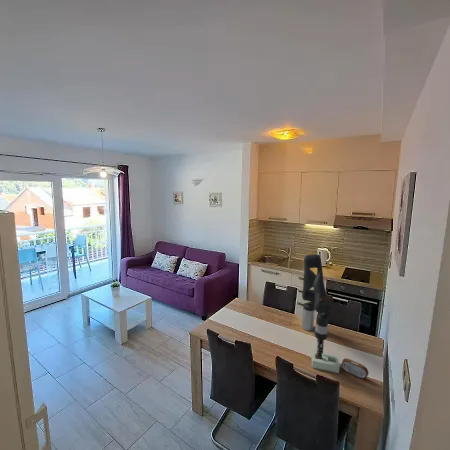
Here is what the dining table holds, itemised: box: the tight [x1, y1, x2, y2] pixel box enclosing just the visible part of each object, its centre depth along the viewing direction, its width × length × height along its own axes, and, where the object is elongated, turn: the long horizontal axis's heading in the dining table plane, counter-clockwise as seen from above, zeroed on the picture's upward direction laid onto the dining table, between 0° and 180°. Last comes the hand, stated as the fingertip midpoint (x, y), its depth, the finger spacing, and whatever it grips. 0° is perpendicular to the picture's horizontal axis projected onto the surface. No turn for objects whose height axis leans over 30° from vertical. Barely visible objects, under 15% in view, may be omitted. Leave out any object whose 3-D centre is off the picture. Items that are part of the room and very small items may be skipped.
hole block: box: [311, 350, 340, 374], centre depth 165 cm, size 10×16×5 cm, turn 73°
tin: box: [341, 357, 369, 380], centre depth 157 cm, size 15×3×8 cm, turn 50°
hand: (319, 352), depth 165 cm, fingers open, 8 cm apart
